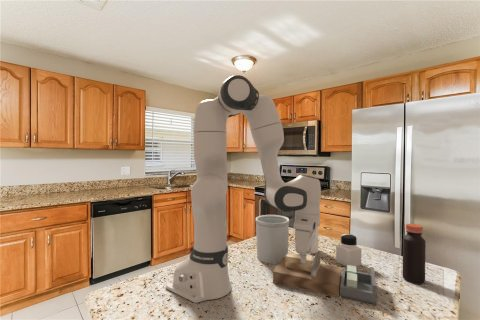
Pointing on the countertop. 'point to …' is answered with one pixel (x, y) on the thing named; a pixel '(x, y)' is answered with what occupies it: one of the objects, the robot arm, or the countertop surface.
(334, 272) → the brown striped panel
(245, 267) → the countertop surface
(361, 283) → the box
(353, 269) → the tile
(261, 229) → the utensil holder
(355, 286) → the tile
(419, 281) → the vinegar
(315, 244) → the cylindrical container
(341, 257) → the medicine bottle
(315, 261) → the scraper
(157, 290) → the countertop surface
